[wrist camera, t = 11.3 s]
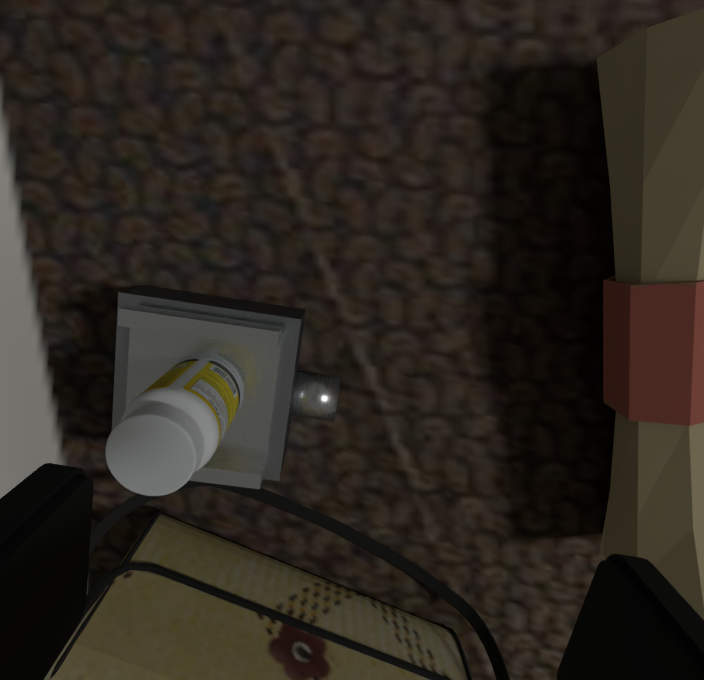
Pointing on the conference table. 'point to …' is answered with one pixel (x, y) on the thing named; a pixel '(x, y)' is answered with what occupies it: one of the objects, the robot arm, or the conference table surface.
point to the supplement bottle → (173, 427)
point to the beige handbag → (251, 613)
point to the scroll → (656, 299)
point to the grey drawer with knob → (239, 356)
